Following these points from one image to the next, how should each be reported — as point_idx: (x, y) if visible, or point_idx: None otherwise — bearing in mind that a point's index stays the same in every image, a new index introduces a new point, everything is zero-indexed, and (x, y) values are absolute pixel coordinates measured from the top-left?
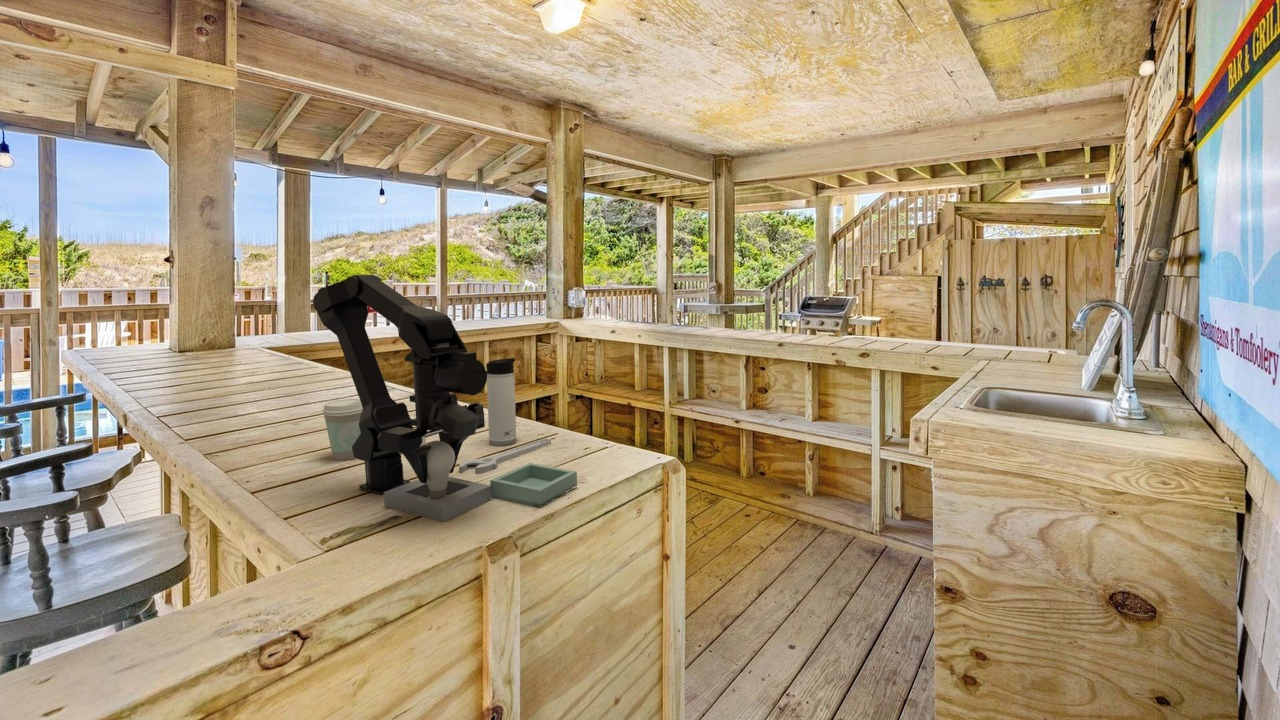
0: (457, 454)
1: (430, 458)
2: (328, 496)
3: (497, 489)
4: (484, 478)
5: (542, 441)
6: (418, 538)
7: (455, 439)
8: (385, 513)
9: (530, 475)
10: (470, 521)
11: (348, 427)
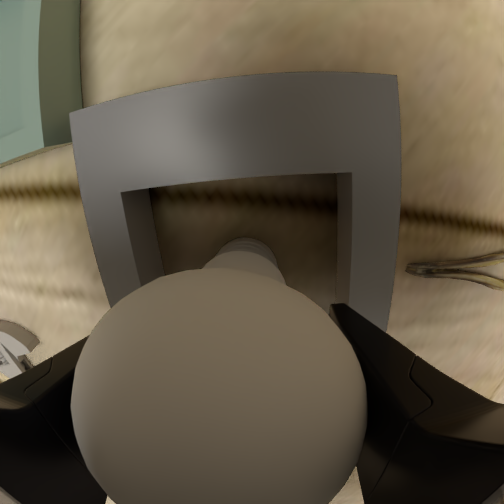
0: (59, 357)
1: (356, 396)
2: (354, 470)
3: (62, 105)
4: (31, 295)
5: None
6: (486, 79)
7: (9, 446)
8: (401, 328)
9: None
10: (306, 3)
11: None
